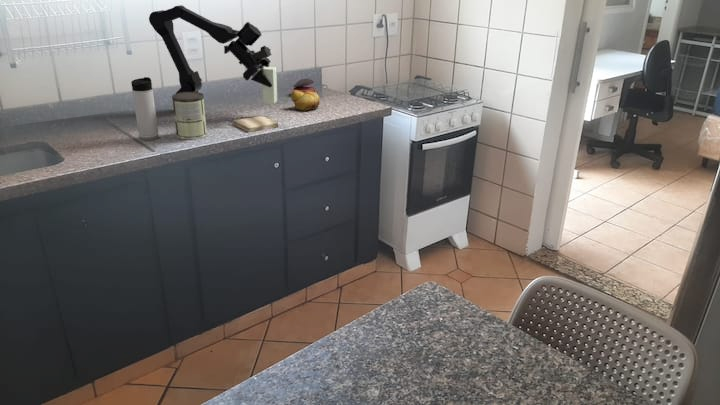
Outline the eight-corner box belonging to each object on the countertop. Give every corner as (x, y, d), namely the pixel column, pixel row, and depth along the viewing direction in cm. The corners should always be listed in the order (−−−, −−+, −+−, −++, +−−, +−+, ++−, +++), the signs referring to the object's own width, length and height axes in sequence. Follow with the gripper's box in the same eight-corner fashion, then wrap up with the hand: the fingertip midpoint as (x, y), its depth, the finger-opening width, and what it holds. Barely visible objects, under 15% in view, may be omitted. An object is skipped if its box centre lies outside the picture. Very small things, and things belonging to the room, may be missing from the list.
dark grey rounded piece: (296, 106, 248) (285, 87, 244) (301, 99, 256) (291, 80, 253) (317, 97, 244) (306, 77, 240) (322, 90, 252) (311, 70, 249)
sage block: (262, 103, 210) (261, 68, 204) (266, 100, 214) (264, 66, 208) (274, 103, 209) (273, 69, 204) (277, 101, 213) (276, 67, 208)
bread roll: (313, 104, 235) (312, 85, 232) (327, 108, 228) (327, 89, 225) (289, 108, 227) (288, 89, 223) (303, 113, 220) (303, 93, 217)
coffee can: (171, 134, 189) (166, 94, 184) (197, 129, 196) (194, 90, 190) (185, 141, 183) (181, 100, 177) (212, 135, 189) (209, 95, 184)
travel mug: (163, 136, 187) (156, 78, 179) (150, 141, 181) (142, 81, 173) (148, 134, 189) (140, 76, 181) (135, 139, 183) (126, 79, 175)
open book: (249, 132, 194) (249, 128, 194) (233, 124, 203) (233, 120, 202) (278, 126, 201) (278, 123, 201) (261, 119, 210) (261, 115, 209)
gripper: (249, 42, 194) (280, 75, 197) (264, 36, 211) (293, 66, 214) (229, 64, 198) (260, 96, 201) (246, 56, 215) (274, 85, 218)
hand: (273, 85), depth 209 cm, fingers closed on sage block, 4 cm apart
